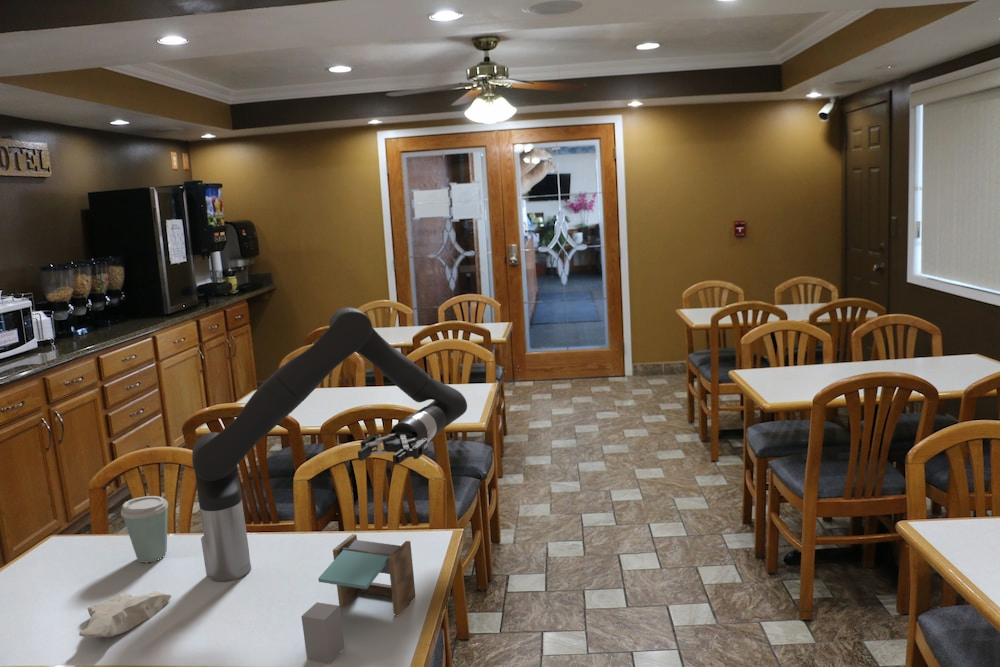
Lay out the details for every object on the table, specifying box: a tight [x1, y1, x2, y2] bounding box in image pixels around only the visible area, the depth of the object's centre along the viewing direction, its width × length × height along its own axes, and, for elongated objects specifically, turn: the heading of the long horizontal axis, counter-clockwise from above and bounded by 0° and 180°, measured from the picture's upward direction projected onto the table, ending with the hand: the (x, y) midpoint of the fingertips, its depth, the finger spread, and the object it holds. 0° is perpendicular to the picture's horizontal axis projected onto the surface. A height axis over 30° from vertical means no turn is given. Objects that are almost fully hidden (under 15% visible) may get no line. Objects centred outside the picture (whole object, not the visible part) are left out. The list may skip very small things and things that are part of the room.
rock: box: [78, 590, 172, 638], centre depth 166 cm, size 21×5×15 cm
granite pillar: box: [301, 602, 345, 665], centre depth 149 cm, size 5×5×9 cm
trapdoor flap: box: [317, 539, 401, 589], centre depth 162 cm, size 14×11×6 cm
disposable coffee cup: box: [120, 495, 169, 564], centre depth 194 cm, size 11×11×15 cm
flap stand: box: [332, 533, 417, 616], centre depth 166 cm, size 8×14×13 cm, turn 68°
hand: (377, 458), depth 167 cm, fingers open, 8 cm apart
